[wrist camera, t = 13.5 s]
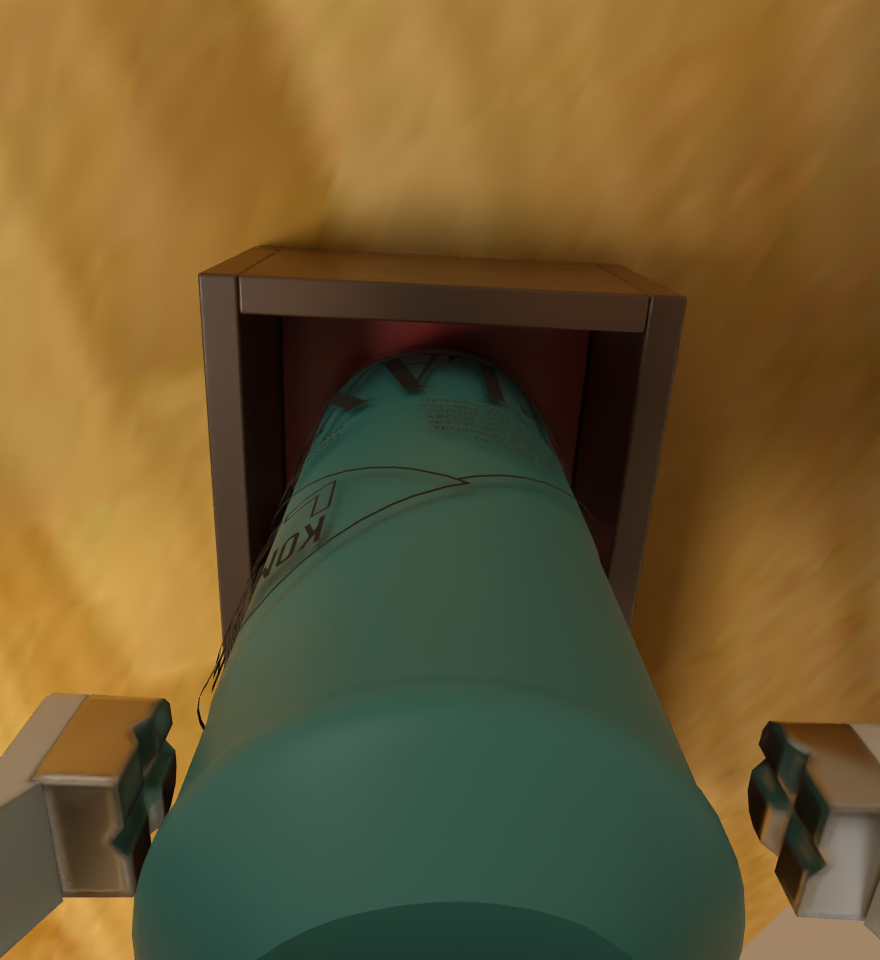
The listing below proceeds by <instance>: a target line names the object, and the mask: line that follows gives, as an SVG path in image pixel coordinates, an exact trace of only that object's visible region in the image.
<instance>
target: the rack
mask: <svg viewBox="0 0 880 960" xmlns="http://www.w3.org/2000/svg"><path fill="white" fill-rule="evenodd" d="M198 282H199V297H200V312H201V326H202V341H203V356H204V371H205V386H206V401H207V416H208V430H209V445H210V460H211V475H212V490H213V505H214V520H215V534H216V549H217V564H218V579H219V594H220V609H221V623H222V638H223V640H224V638H225V640H226V642H227V645H226V642H225V640H224V642H225V644H224V642H223V645H224V647H225V645H226V648H227V647H228V645H229V644H230V643H229V637H230V642H231V641H232V639H233V638H234V632H235V635H236V629H235V628H234V625H235V623H236V627H237V632H238V631H239V619H240V627H241V625H242V611H243V620H244V617H245V614H246V612H247V609H248V606H249V597H250V602H251V599H252V596H253V594H254V591H255V589H256V587H255V589H254V591H253V592H252V593H251V595H250V592H251V590H252V589H251V586H252V588H253V585H254V582H255V580H256V577H257V575H258V572H259V569H260V568H261V566H262V565H263V564H264V565H263V568H264V566H265V563H266V560H267V558H268V555H269V553H270V552H269V550H270V548H272V545H273V540H272V538H273V536H274V535H273V534H271V532H272V533H273V530H274V531H275V532H274V534H275V533H276V531H277V530H279V529H278V528H279V527H278V526H279V525H280V523H281V522H282V519H283V517H284V514H285V512H286V509H287V505H288V502H286V501H287V500H288V499H289V496H290V492H291V489H290V491H289V494H288V496H287V498H286V501H285V502H286V503H285V504H284V506H283V511H282V505H283V500H284V497H283V496H285V495H284V494H285V491H286V489H287V488H288V486H287V485H289V484H288V483H290V482H289V481H291V478H292V476H293V475H292V474H293V473H294V471H295V469H296V466H297V464H298V461H299V459H300V457H301V454H302V452H303V454H302V462H304V463H305V461H304V460H303V459H305V458H306V457H307V455H308V453H309V450H310V447H311V445H312V441H313V440H314V437H315V435H316V432H317V429H318V427H319V425H320V422H321V420H322V417H323V415H324V413H325V411H326V409H327V408H328V406H329V404H327V402H328V401H329V400H330V398H331V397H332V396H333V395H334V394H335V393H336V392H337V391H338V390H339V389H340V388H341V387H343V386H344V385H345V384H346V383H347V382H348V381H349V380H350V379H351V378H352V377H354V376H355V375H356V374H358V373H359V372H360V371H362V370H363V368H366V367H364V366H366V365H368V366H370V365H371V364H370V363H374V361H376V362H377V361H379V360H380V358H383V359H384V358H386V356H388V355H389V356H391V355H395V354H398V353H401V351H402V352H403V351H406V350H407V351H408V350H409V351H411V350H413V349H414V350H415V349H417V350H418V349H420V348H421V349H423V348H424V349H425V348H426V349H428V348H429V349H430V348H431V349H433V348H434V349H435V348H436V349H437V348H438V349H439V348H441V349H442V348H443V349H448V350H449V349H450V350H452V349H453V350H454V349H455V351H456V350H458V351H460V352H461V351H462V352H463V353H464V352H465V353H466V352H467V353H468V354H469V353H472V355H473V354H474V356H475V355H476V357H478V356H479V358H480V357H481V359H482V357H483V360H485V361H487V360H488V361H487V362H489V361H490V362H489V363H491V362H492V363H491V364H493V363H494V364H493V365H495V364H496V365H495V366H496V367H498V368H499V369H501V370H502V371H503V372H505V373H506V374H508V375H509V376H510V377H511V378H512V379H513V380H514V381H515V382H516V383H517V384H518V385H519V386H520V387H521V388H522V389H523V391H524V392H525V393H526V394H527V396H528V397H529V399H530V400H531V402H532V404H533V405H534V407H535V409H536V411H537V413H539V412H538V410H537V408H536V406H535V403H534V401H533V399H534V400H535V401H536V402H537V401H538V402H537V404H538V405H539V406H540V408H541V409H542V408H543V409H542V412H543V414H545V415H544V416H545V419H546V421H547V423H548V425H549V424H550V426H549V427H550V429H552V430H551V432H552V431H553V432H552V434H553V433H554V434H553V436H554V435H555V436H554V438H555V437H556V438H555V440H556V439H557V440H556V442H558V443H557V444H559V445H558V446H560V447H558V446H557V445H556V443H555V442H553V440H552V439H551V437H550V436H549V435H548V434H547V436H548V438H549V440H550V442H551V445H552V446H553V447H555V450H554V451H555V453H556V449H557V450H559V451H558V453H556V454H557V455H556V456H557V457H558V455H562V456H561V457H560V456H559V457H560V458H559V463H561V462H562V464H563V465H565V466H564V467H565V468H564V469H562V470H563V472H566V471H565V470H566V469H567V473H566V475H567V476H568V477H570V479H572V480H571V481H572V482H571V481H570V479H569V478H568V477H567V476H566V475H565V476H566V478H567V479H568V480H569V481H570V483H571V484H572V485H573V484H574V487H573V486H572V485H571V486H570V483H569V481H568V480H567V481H568V483H569V486H570V488H571V490H572V492H574V490H575V492H574V497H576V499H577V500H579V502H580V500H581V504H582V505H583V506H585V507H586V508H587V510H588V511H589V510H590V511H589V512H591V513H589V512H588V511H587V510H586V509H585V508H584V507H583V506H582V505H579V504H580V503H579V502H578V501H577V500H576V501H577V502H578V506H580V507H579V508H580V511H582V515H583V517H584V520H585V517H586V520H585V522H586V521H587V520H588V521H587V522H586V524H587V526H589V527H588V528H589V531H590V533H591V536H592V538H593V536H594V539H593V540H594V543H595V545H596V548H597V551H598V554H599V559H600V563H601V561H602V549H603V548H604V550H603V563H602V567H603V570H604V572H605V574H606V577H607V579H608V581H609V583H610V586H611V588H612V590H613V593H614V595H615V597H616V600H617V602H618V604H619V607H620V609H621V611H622V614H623V616H624V618H625V621H626V623H627V625H628V628H629V630H631V625H632V619H633V613H634V607H635V601H636V595H637V589H638V584H639V578H640V572H641V566H642V560H643V554H644V549H645V543H646V537H647V531H648V525H649V519H650V514H651V508H652V502H653V496H654V490H655V484H656V478H657V473H658V467H659V461H660V455H661V449H662V443H663V438H664V432H665V426H666V420H667V414H668V408H669V402H670V397H671V391H672V385H673V379H674V373H675V367H676V362H677V356H678V350H679V344H680V338H681V332H682V327H683V321H684V315H685V309H686V303H687V299H686V297H684V296H682V295H680V294H678V293H676V292H674V291H672V290H670V289H668V288H666V287H664V286H662V285H660V284H658V283H656V282H654V281H652V280H650V279H648V278H646V277H644V276H642V275H640V274H638V273H636V272H634V271H632V270H630V269H628V268H626V267H624V266H622V265H614V264H594V263H574V262H554V261H534V260H514V259H494V258H474V257H455V256H435V255H415V254H395V253H375V252H355V251H335V250H316V249H296V248H276V247H256V246H255V247H253V248H251V249H249V250H246V251H244V252H242V253H240V254H238V255H236V256H234V257H232V258H230V259H228V260H226V261H224V262H222V263H220V264H218V265H216V266H214V267H211V268H209V269H207V270H205V271H203V272H201V273H199V275H198ZM431 344H439V345H431ZM416 345H420V346H416ZM443 345H450V346H443ZM409 346H413V347H409ZM454 346H456V347H454ZM403 347H407V348H403ZM458 347H461V348H458ZM400 348H402V349H400ZM463 348H465V349H463ZM396 349H398V350H396ZM467 349H470V350H467ZM393 350H395V351H393ZM471 350H473V351H471ZM389 351H391V352H389ZM474 351H475V352H474ZM386 352H388V353H386ZM476 352H478V353H476ZM384 353H385V354H384ZM479 353H481V354H479ZM382 354H383V355H382ZM482 354H483V355H482ZM379 355H381V356H379ZM470 355H471V354H470ZM484 355H486V356H484ZM377 356H378V357H377ZM487 356H488V357H487ZM374 357H376V358H374ZM489 357H490V358H489ZM372 358H374V359H372ZM484 358H485V359H484ZM491 358H492V359H491ZM371 359H372V360H371ZM378 359H379V360H378ZM486 359H487V360H486ZM493 359H494V360H496V361H497V362H496V361H494V360H493ZM369 360H370V361H369ZM367 361H368V362H367ZM365 362H366V363H365ZM498 362H499V363H498ZM364 363H365V364H364ZM500 363H501V364H500ZM362 364H363V365H362ZM360 365H361V366H360ZM497 365H498V366H497ZM503 365H504V366H505V367H504V366H503ZM368 366H367V367H368ZM499 366H500V367H499ZM357 367H358V368H357ZM501 367H502V368H504V370H503V369H502V368H501ZM506 367H507V368H508V369H507V368H506ZM356 368H357V369H356ZM361 368H362V369H361ZM359 369H361V370H360V371H359ZM353 370H354V371H353ZM357 370H358V371H359V372H358V371H357ZM505 370H506V371H505ZM510 370H511V371H510ZM352 371H353V372H352ZM356 371H357V373H356ZM507 371H508V372H507ZM509 372H510V374H509ZM513 372H514V373H515V374H516V375H517V376H518V377H519V378H520V379H519V378H518V377H517V376H516V375H515V374H514V373H513ZM349 373H350V374H349ZM348 374H349V375H348ZM353 374H354V375H353ZM511 374H512V375H511ZM347 375H348V376H347ZM351 375H353V376H352V377H350V376H351ZM513 375H514V377H513ZM515 377H516V378H515ZM517 379H518V380H517ZM344 380H346V381H345V382H344V383H343V384H342V382H343V381H344ZM520 382H522V383H520ZM340 384H342V385H340ZM522 384H524V385H522ZM339 385H340V386H339ZM526 385H527V386H528V387H527V386H526ZM525 386H526V387H527V388H525ZM338 387H339V388H338ZM336 388H338V389H337V390H335V389H336ZM527 389H528V390H527ZM332 390H333V391H334V393H333V391H332ZM339 391H340V390H339ZM531 391H532V392H531ZM332 393H333V394H332ZM329 394H330V395H331V396H330V395H329ZM530 395H531V396H532V397H533V399H532V397H531V396H530ZM534 397H535V398H537V400H536V399H535V398H534ZM326 398H327V399H326ZM328 398H329V399H328ZM325 399H326V400H327V401H326V400H325ZM324 403H325V404H324ZM539 403H540V404H539ZM322 404H324V405H322ZM326 404H327V405H326ZM325 405H326V406H325ZM322 406H323V407H322ZM324 406H325V407H324ZM321 410H322V411H321ZM319 411H320V412H319ZM538 415H539V414H538ZM539 417H540V415H539ZM318 420H319V422H318V424H317V425H316V427H315V423H316V422H317V421H318ZM540 420H541V422H542V424H543V421H542V419H541V417H540ZM313 426H314V427H315V428H314V427H313ZM543 426H544V424H543ZM313 429H314V430H313ZM544 429H545V431H546V432H547V430H546V428H545V426H544ZM310 430H311V431H312V432H310ZM310 433H311V434H312V435H311V437H310V439H309V441H307V440H308V436H309V434H310ZM305 442H306V444H305ZM307 442H308V443H307ZM304 444H305V445H304ZM304 446H305V448H304ZM559 448H561V449H559ZM302 449H304V450H305V451H304V450H302ZM306 450H307V452H308V453H306ZM561 450H562V451H561ZM301 451H302V452H301ZM562 452H563V454H564V455H563V454H562ZM304 453H305V454H304ZM304 456H305V457H304ZM303 457H304V458H303ZM564 457H565V458H564ZM562 458H563V460H562ZM560 459H561V460H562V461H561V460H560ZM565 459H566V461H567V462H566V461H565ZM560 461H561V462H560ZM564 461H565V462H564ZM302 462H301V463H302ZM563 462H564V463H565V464H564V463H563ZM567 463H568V464H567ZM568 465H569V466H568ZM302 466H303V463H302V465H300V466H299V469H300V468H301V467H302ZM566 466H567V467H568V468H569V467H570V468H569V469H568V468H567V467H566ZM302 468H303V467H302ZM302 468H301V469H300V471H299V469H298V471H297V475H296V476H295V479H296V477H297V476H298V474H299V473H300V472H301V470H302ZM570 469H571V470H570ZM569 470H570V471H569ZM568 471H569V472H568ZM571 472H572V473H571ZM568 474H569V475H568ZM572 474H573V475H572ZM299 476H300V474H299ZM299 476H298V478H299ZM573 476H574V477H573ZM298 478H297V479H296V480H295V481H294V482H293V487H292V486H291V488H292V489H293V488H295V486H296V483H297V481H298ZM574 478H575V479H574ZM575 480H576V481H575ZM576 482H577V483H576ZM577 484H578V486H577ZM572 487H573V488H572ZM578 487H579V488H578ZM574 488H575V489H574ZM579 489H580V490H579ZM580 491H581V492H580ZM581 493H582V494H581ZM582 495H583V496H582ZM583 497H584V498H583ZM282 498H283V499H282ZM579 498H580V499H579ZM584 499H585V501H584ZM281 500H282V501H281ZM585 502H586V503H585ZM279 504H280V506H279ZM586 504H587V505H586ZM587 506H588V507H587ZM280 508H281V509H280ZM581 508H582V510H581ZM588 508H589V509H588ZM278 509H280V510H278ZM277 511H279V512H278V514H277ZM586 514H587V515H586ZM590 514H592V516H591V515H590ZM275 515H277V516H276V517H277V518H276V517H275ZM281 515H282V517H281ZM274 517H275V519H274ZM592 517H593V518H594V520H595V521H596V522H594V520H593V518H592ZM587 518H588V519H587ZM273 519H274V520H275V521H276V523H275V521H274V520H273ZM590 519H591V520H590ZM272 521H273V522H274V523H273V524H272ZM591 522H592V524H591ZM595 523H596V524H595ZM274 524H276V525H274ZM271 525H273V527H272V526H271ZM596 525H597V526H596ZM591 526H592V527H591ZM274 527H275V528H274ZM277 527H278V528H277ZM597 527H598V528H597ZM269 528H271V529H269ZM272 528H273V529H272ZM276 528H277V529H276ZM592 528H593V534H592ZM598 529H599V531H598ZM271 530H272V531H271ZM277 532H278V531H277ZM599 532H600V533H599ZM600 534H601V535H600ZM271 535H272V538H270V536H271ZM276 535H277V533H276V534H275V536H274V538H273V539H274V540H275V537H276ZM601 536H602V540H601ZM269 538H270V540H272V541H271V545H270V548H269V547H268V545H269V543H270V540H269ZM268 540H269V541H268ZM267 542H268V543H267ZM602 542H603V545H602ZM266 544H267V545H266ZM262 545H263V546H262ZM264 547H265V548H264ZM267 547H268V548H267ZM263 549H264V550H263ZM266 549H267V550H266ZM262 550H263V551H262ZM265 550H266V552H265ZM260 552H263V553H260ZM264 552H265V554H264ZM261 554H262V555H261ZM263 554H264V555H263ZM259 555H260V556H261V557H262V556H263V557H262V559H261V557H260V556H259ZM258 557H260V559H261V561H260V559H257V558H258ZM256 560H259V561H260V562H259V561H258V563H256V562H257V561H256ZM254 564H255V566H256V564H257V566H256V567H255V566H254ZM253 568H256V569H254V571H255V574H253V573H254V571H253V573H252V570H253ZM263 568H262V570H261V573H262V571H263ZM261 573H260V575H261ZM252 575H253V576H254V575H255V576H254V579H253V584H251V586H250V589H249V591H248V594H247V596H246V599H245V602H244V607H243V604H242V602H243V600H244V598H243V600H242V602H241V604H242V606H241V604H240V606H241V607H240V606H239V604H238V603H240V600H241V598H242V596H243V593H244V591H245V590H246V592H247V590H248V588H249V586H248V584H249V583H250V581H251V580H252V578H253V576H252ZM260 575H259V577H260ZM249 577H250V578H251V579H250V578H249ZM258 579H259V578H258ZM248 580H250V581H249V582H248V584H246V583H247V581H248ZM249 585H250V584H249ZM245 586H246V587H245ZM247 586H248V587H247ZM256 586H257V585H256ZM246 588H247V589H246ZM245 594H246V593H245ZM245 594H244V595H245ZM249 595H250V596H249ZM243 597H244V596H243ZM238 606H239V607H240V609H239V611H238V612H237V614H236V616H233V615H235V612H236V611H235V610H237V608H238ZM240 611H241V616H239V618H238V615H239V613H240ZM232 617H233V618H232ZM234 617H235V618H234ZM237 619H238V625H237ZM231 620H232V622H233V624H232V622H231ZM233 620H234V621H233ZM230 623H231V626H232V627H231V626H230V630H231V634H230V630H228V631H229V633H228V632H227V629H228V628H229V624H230ZM233 628H234V631H233ZM232 632H233V638H232ZM226 633H227V635H228V636H227V635H226ZM225 635H226V637H227V639H226V637H224V636H225ZM237 635H238V634H237ZM235 640H236V637H235ZM233 645H234V640H233V641H232V648H233ZM224 647H223V650H224ZM230 653H231V644H230V646H229V656H230ZM224 657H225V662H224V666H226V663H227V661H228V649H227V650H226V651H225V653H224Z"/></svg>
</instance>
